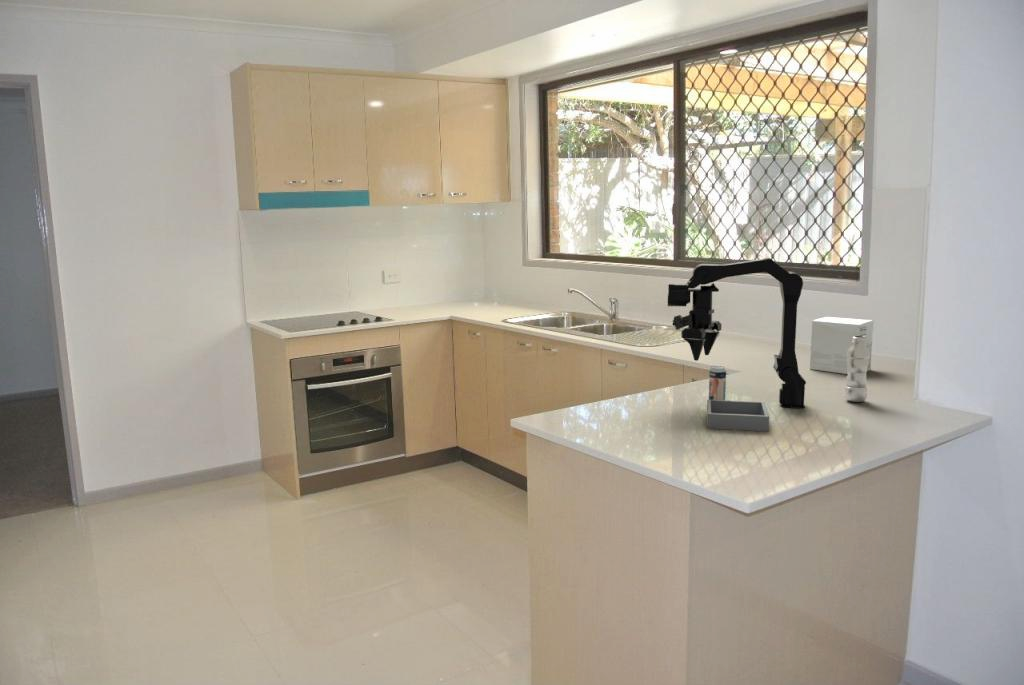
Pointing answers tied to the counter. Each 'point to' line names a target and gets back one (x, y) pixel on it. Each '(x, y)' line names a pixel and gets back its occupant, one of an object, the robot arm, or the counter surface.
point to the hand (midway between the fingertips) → (701, 357)
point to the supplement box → (837, 342)
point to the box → (737, 415)
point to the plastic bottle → (857, 370)
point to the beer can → (717, 383)
